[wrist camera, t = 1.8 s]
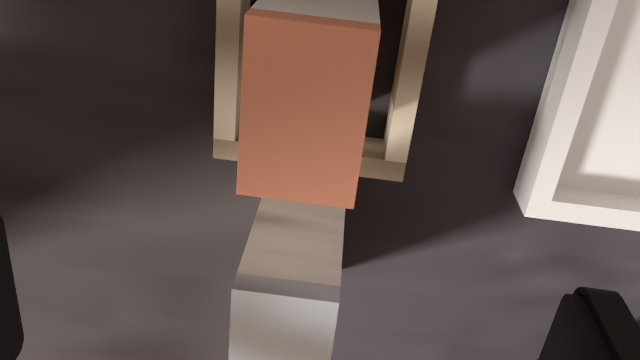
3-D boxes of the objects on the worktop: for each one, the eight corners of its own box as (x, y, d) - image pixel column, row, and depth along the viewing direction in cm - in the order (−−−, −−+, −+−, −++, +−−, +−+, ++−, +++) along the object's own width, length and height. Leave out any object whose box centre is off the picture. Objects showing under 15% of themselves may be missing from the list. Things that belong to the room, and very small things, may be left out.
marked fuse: (357, 106, 29) (353, 209, 20) (276, 96, 29) (235, 194, 20) (375, -22, 26) (381, 31, 17) (286, -32, 26) (244, 14, 17)
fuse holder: (377, 278, 33) (381, 424, 24) (220, 257, 33) (167, 395, 24) (486, -301, 21) (573, -430, 12) (239, -330, 21) (148, -478, 12)
